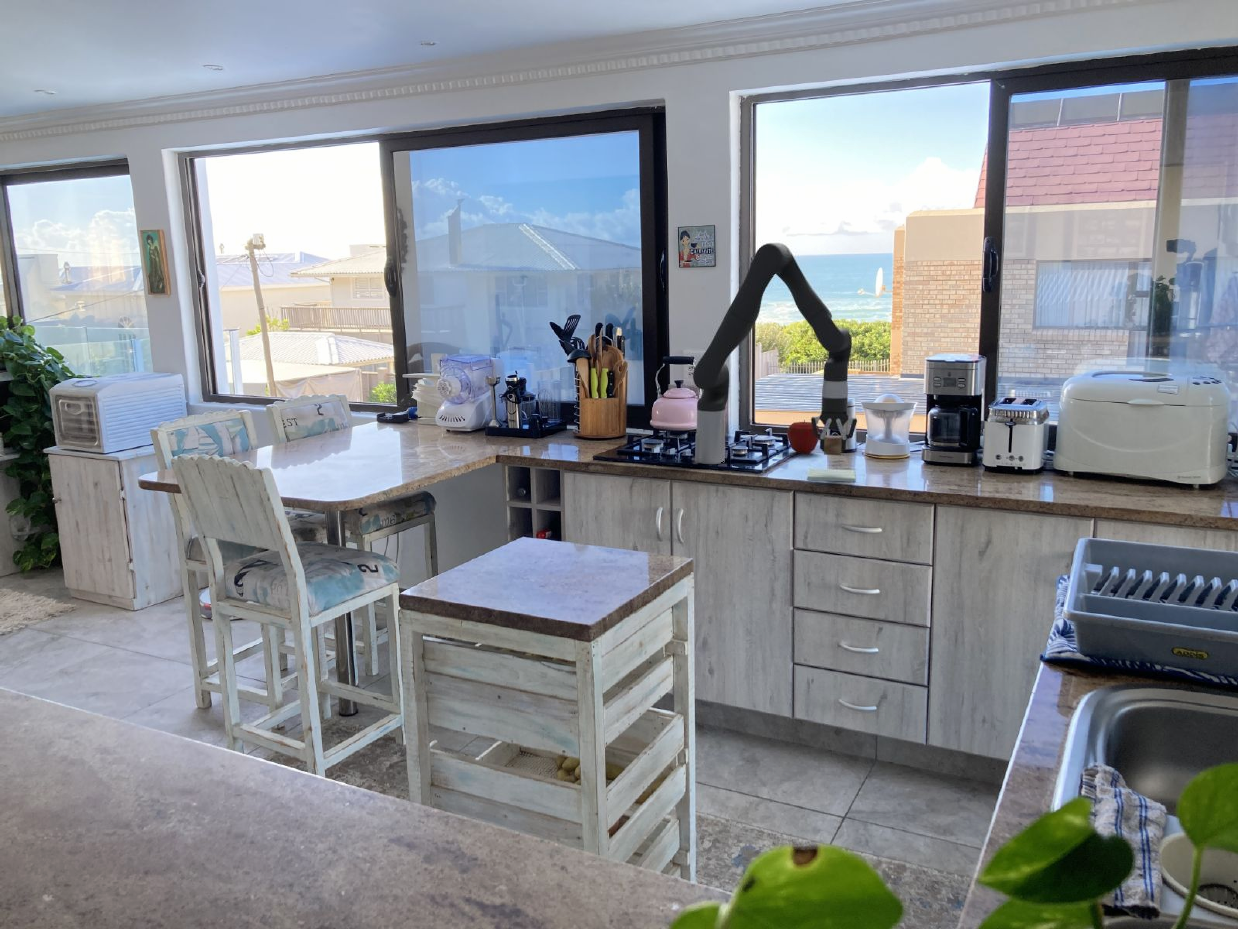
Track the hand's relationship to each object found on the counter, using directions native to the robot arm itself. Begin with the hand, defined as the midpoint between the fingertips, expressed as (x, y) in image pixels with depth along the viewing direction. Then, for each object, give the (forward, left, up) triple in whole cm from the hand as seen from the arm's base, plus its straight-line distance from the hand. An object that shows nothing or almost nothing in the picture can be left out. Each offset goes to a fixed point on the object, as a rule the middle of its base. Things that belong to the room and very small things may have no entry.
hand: (832, 451), depth 295 cm
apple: (-10, +36, -8) cm, 38 cm away
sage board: (0, 0, -8) cm, 8 cm away
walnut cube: (0, 0, -1) cm, 1 cm away
